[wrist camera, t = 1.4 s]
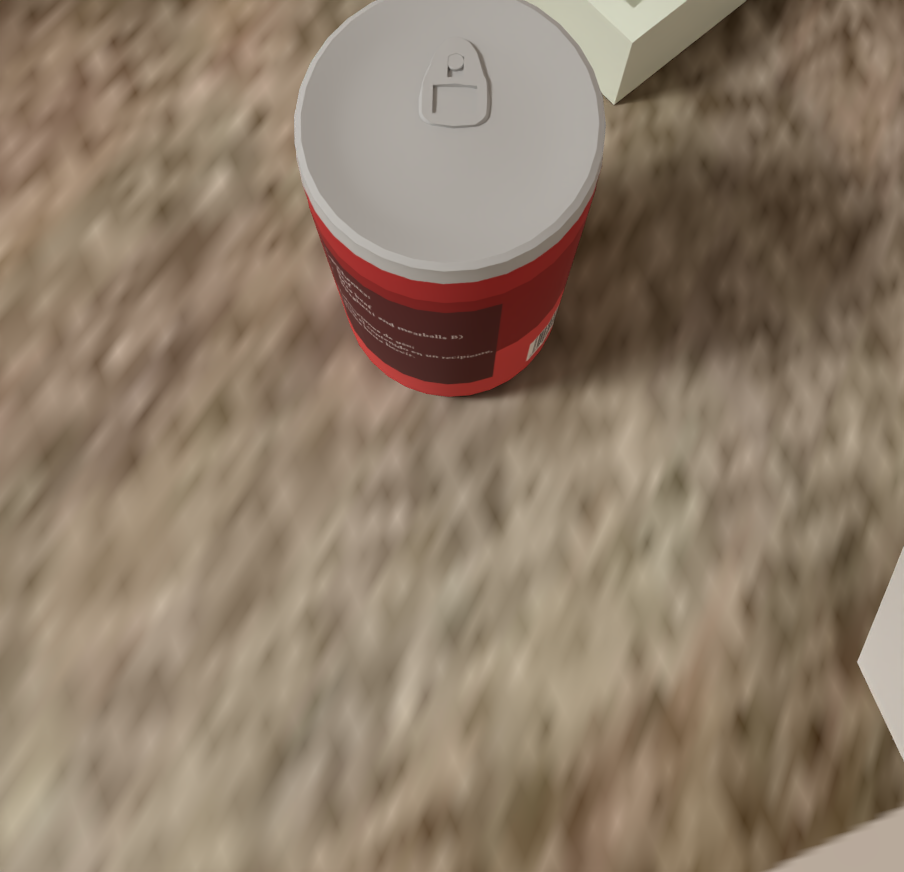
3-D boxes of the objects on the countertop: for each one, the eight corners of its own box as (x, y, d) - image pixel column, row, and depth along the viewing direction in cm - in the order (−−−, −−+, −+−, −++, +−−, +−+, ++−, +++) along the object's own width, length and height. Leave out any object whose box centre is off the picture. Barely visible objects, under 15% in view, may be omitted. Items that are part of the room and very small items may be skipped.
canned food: (525, 181, 32) (560, -50, 21) (582, 377, 30) (651, 232, 20) (327, 224, 32) (261, 12, 21) (372, 426, 30) (326, 304, 19)
